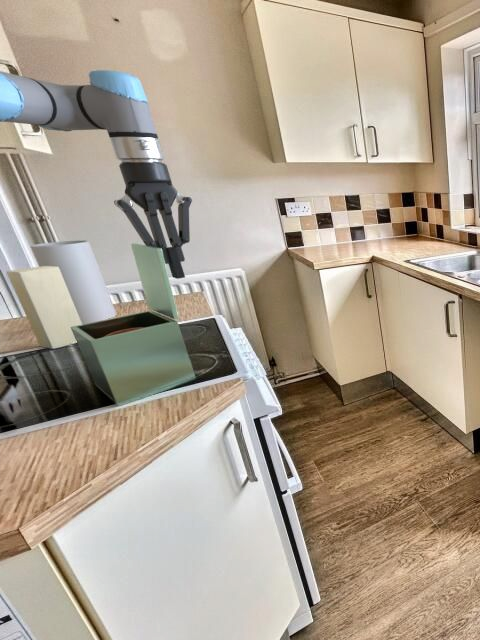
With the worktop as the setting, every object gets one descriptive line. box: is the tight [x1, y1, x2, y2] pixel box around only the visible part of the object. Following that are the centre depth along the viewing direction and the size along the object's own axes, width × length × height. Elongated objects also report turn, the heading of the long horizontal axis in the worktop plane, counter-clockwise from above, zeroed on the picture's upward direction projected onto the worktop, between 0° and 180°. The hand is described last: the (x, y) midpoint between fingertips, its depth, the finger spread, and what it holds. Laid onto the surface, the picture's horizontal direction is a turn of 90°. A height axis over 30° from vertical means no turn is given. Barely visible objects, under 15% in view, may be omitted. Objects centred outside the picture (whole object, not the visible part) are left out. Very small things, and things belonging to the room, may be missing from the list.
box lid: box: [130, 243, 180, 320], centre depth 90 cm, size 14×16×1 cm
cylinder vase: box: [30, 239, 118, 324], centre depth 132 cm, size 12×12×25 cm
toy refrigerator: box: [6, 266, 82, 350], centre depth 114 cm, size 8×7×21 cm
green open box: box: [71, 309, 198, 407], centre depth 90 cm, size 14×16×14 cm
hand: (179, 277), depth 93 cm, fingers closed
